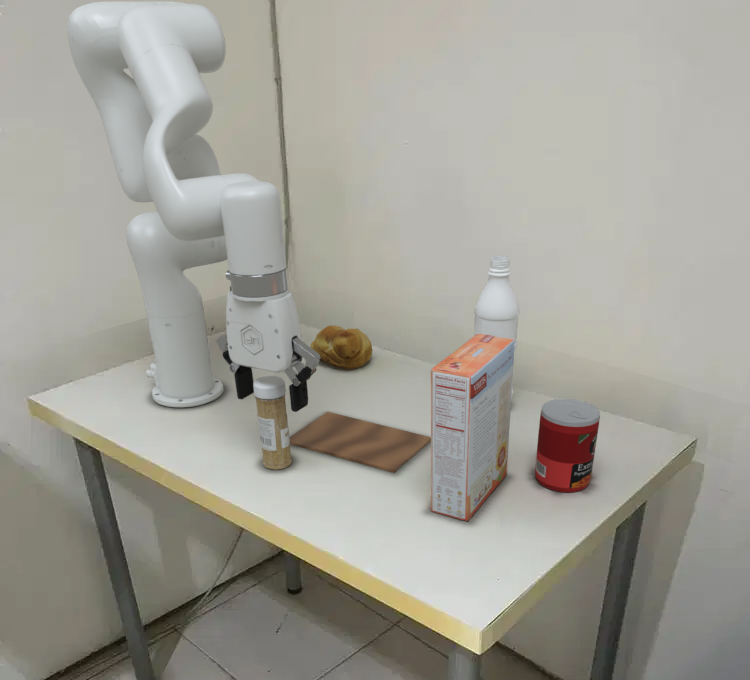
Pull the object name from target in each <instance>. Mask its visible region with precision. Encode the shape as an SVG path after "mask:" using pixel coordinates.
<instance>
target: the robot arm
mask: <svg viewBox="0 0 750 680" xmlns="http://www.w3.org/2000/svg"><path fill="white" fill-rule="evenodd" d="M66 28H67V29H66V30H67V31H66V32H67V39H68V46H69V50H70V54H71V58H72V60H73V63H74V67H75V68H76V71H77V73H78V75H79V77H80V79H81V81H82V83H83V85H84V87H85V88H86V90H87V92H88V93H89V94H88V95H90V98H91V99H92V101H93V103H94V105H95V107H96V109H97V110H98V113H99V116H100V118H101V121H102V126H103V128H104V132H105V136H106V139H107V143H108V147H109V150H110V153H111V157H112V160H113V164H114V168H115V171H116V175H117V177H118V180H119V183H120V186H121V188H122V191H123V192H124V194H125V195H126V197H127V198H128V199H129V200H130V201H133V202H135V203H153V204H154V207H155V209H156V210H154V209H153V210H150V211H149V210H148V211H146V212H142V213H140V214H138V215H136V216H135V217H133V218H132V219H131V220H130V221H129V223H128V224H127V227H126V231H125V235H126V236H125V238H126V244H127V246H128V250H129V253H130V256H131V258H132V261H133V265H134V267H135V271H136V273H137V277H138V280H139V284H140V288H141V293H142V299H143V302H144V303H143V304H144V308H145V314H146V317H147V318H146V319H147V325H148V329H149V335H150V340H151V346H152V352H153V357H154V362H151V364H150V366H149V369H147V370H146V371H145V376H146V377H147V378H151V379H154V382H155V386H154V387H153V388H152V390H151V397H152V399H153V401H154V402H155V403H156V404H159V405H161V406H164V407H168V408H191V407H197V406H202V405H205V404H207V403H211V402H212V401H214V400H217V399H218V398H220V397H221V395H222V394H224V393H223V392H224V383H223V381H222V380H220V379H219V378H218V377H215V376H214V373H213V368H212V366H213V365H212V360H211V352H210V346H209V340H208V333H207V324H206V318H205V312H204V304H203V298H202V295H201V292H200V289H198V287H197V286H196V285H195V284H194V282H192V281H191V280H190V279H189V278H188V277H187V276H186V275H185V274H184V271H185V270H188V269H192V268H197V267H201V266H207V265H212V264H217V263H221V262H225V261H227V267H228V270H226V272H225V278H226V280H228V281H230V286H231V289H232V291H230V290H229V291H228V292H227V297H226V304H225V305H226V306H225V307H226V308H225V327H226V329H225V330H226V333H224V334H222V335H220V336H219V337H217V338H216V341H215V342H216V344H217V346H218V348H219V350H220V352H221V353H222V358H223V359H224V360H225V362H226V363H227V364H228V365H229V371H230V372H231V373H232V374H233V375H234V381H235V389H236V398H237V399H238V400H244V399H246V398H247V397H249V396H251V395H254V388H253V383H254V375H253V369H256V370H261V371H266V372H272V373H276V374H277V373H279V374H280V373H284V374H285V376H286V377H287V378H288V379H289V381H290V382H291V384H290V385H289V386H288V391H289V392H288V393H289V401H290V410H291V412H294V413H297V412H299V411H301V410H302V409H303V408H305V407H307V406H308V404H309V392H308V390H309V389H308V380H310V379H311V377H312V376H313V375H314V374H315V373H316V371H317V368H318V365H319V363H320V362H321V361H320V354H319V353H317V352H316V351H315V350H313V349H312V348H311V347H310V346H309V345H308V344H306V343H305V341H303V338H302V331H301V324H300V318H299V314H298V310H297V306H296V302H295V299H294V295H293V292H291V291H289V290H290V289H289V279H288V268H287V257H286V246H285V245H286V244H285V236H284V235H285V234H284V226H283V225H284V224H283V212H282V204H281V203H282V202H281V201H282V200H281V194H280V191H279V189H278V187H277V186H276V185H275V184H273V183H271V182H268V181H265V180H264V181H261V180H259V179H258V178H256V177H255V176H254V175H252V174H249V173H245V172H236V173H235V172H233V173H225V174H222V173H221V169H220V166H219V162H218V158H217V156H216V154H215V152H214V149H213V148H212V146H211V144H210V143H209V141H208V140H207V139H206V138H204V137H203V136H201V135H199V134H198V133H199V132H201V131H202V130H203V129H204V128H205V127H206V126H207V125H208V123H209V122H210V121H211V118H212V116H213V110H214V104H213V100H212V97H211V96H210V92H209V91H208V89H207V87H206V85H205V82H204V80H203V78H202V77H201V74H211V73H215V72H217V71H218V70H220V69H221V68H222V66H223V65H224V62H225V60H226V55H227V51H226V49H227V47H226V46H227V45H226V39H225V35H224V34H225V33H224V31H223V29H222V26H221V24H220V22H219V20H218V18H217V17H216V16H215V14H214V13H213V12H212V10H210V9H209V8H208V7H206V6H205V5H202V4H199V3H189V2H188V3H187V2H180V1H171V0H170V1H169V0H167V1H166V0H164V1H163V0H161V1H160V0H157V1H156V0H150V1H149V0H147V1H146V0H145V1H143V0H139V1H137V0H136V1H130V0H129V1H128V0H114V1H113V0H110V1H109V0H108V1H95V2H90V3H86V4H82V5H80V6H78V7H76V8H74V10H72V11H71V12H70V14H69V16H68V19H67V25H66ZM126 69H128V70H129V71H130V75H129V74H128V73H126V71H124V70H126ZM131 76H132V77H131ZM303 359H304V360H305V363H303ZM295 370H296V371H295Z"/></svg>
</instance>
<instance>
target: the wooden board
mask: <svg viewBox="0 0 750 680" xmlns="http://www.w3.org/2000/svg"><path fill="white" fill-rule="evenodd" d="M289 438H290V445H292V446H295V447H299V448H302V449H306V450H311V451H314V452H317V453H319V454H320V453H321V454H323V455H328V456H332V457H335V458H339V459H343V460H345V461H350V462H353V463H357V464H361V465H364V466H368V467H371V468H374V469H379V470H382V471H386V472H389V473H392V474H395V473H396V472H397V471H399V470H400V469H401V468H402V467H403V466H404V465H406V464H407V463H408V462H409V461H410V460H412V458H414V456H416V455H417V454H418V453H419V452H421V450H422V449H424V448H425V447H426V446H427V445H429V443H431V436H428V435H423V434H420V433H415V432H412V431H408V430H403V429H400V428H395V427H391V426H387V425H383V424H380V423H375V422H371V421H367V420H363V419H359V418H355V417H350V416H347V415H343V414H338V413H334V412H331V411H326V412H325V413H323V414H322V415H320V416H318V417H317V418H316V419H314V420H312V421H311V422H310V423H308V424H307V425H305V426H304V427H302V428H301V429H300V430H298V431H296V432H295V433H293V434H292V435H290V436H289Z"/></svg>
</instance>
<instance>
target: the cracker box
mask: <svg viewBox="0 0 750 680" xmlns="http://www.w3.org/2000/svg"><path fill="white" fill-rule="evenodd" d="M514 346H515V340H514V339H508V338H501V337H494V336H490V335H484V334H476V335H475V336H474V335H473V336H472V337H471V338H470V339H468V340H467V341H466V342H465V343H463V344H462V345H460V347H458V348H457V349H456V350H454V351H453V352H452V353H450V354H449V355H448V356H446V357H445V358H444V359H442V360H441V361H440V362H438V363H437V364H436V365H435V366H433V367H432V368H431V369H430V437H431V442H430V511H431V512H432V513H436V514H440V515H443V516H447V517H450V518H454V519H458V520H461V521H465V522H469V520H470V519H471V518H472V517H473V516H474V515H475V513H476V512H477V511H478V510H479V508H481V506H482V505H483V504H484V502H485V501H486V500H487V499H488V498H489V497H490V496H491V494H492V493H493V492H494V491H495V490H496V488H497V487H498V486H499V484H500V483H501V482H502V481H503V480H504V479H505V477H506V476H507V473H508V458H509V442H510V425H511V409H512V400H511V395H512V386H513V379H514V378H513V377H514V362H515V361H514V360H515V351H514Z"/></svg>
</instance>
